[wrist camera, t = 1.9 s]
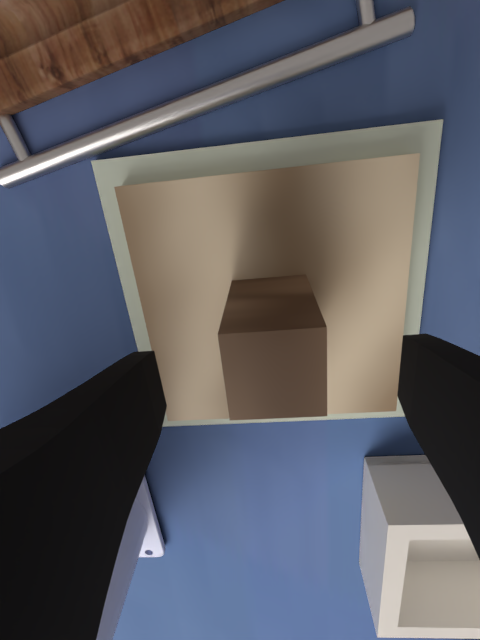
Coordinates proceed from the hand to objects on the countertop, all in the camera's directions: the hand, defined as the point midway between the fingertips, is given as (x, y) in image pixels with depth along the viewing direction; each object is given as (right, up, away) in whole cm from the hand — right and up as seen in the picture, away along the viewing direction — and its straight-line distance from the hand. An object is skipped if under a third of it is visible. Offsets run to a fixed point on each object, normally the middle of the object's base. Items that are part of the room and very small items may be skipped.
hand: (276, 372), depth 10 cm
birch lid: (0, +2, +5) cm, 6 cm away
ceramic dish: (+11, -10, +10) cm, 18 cm away
